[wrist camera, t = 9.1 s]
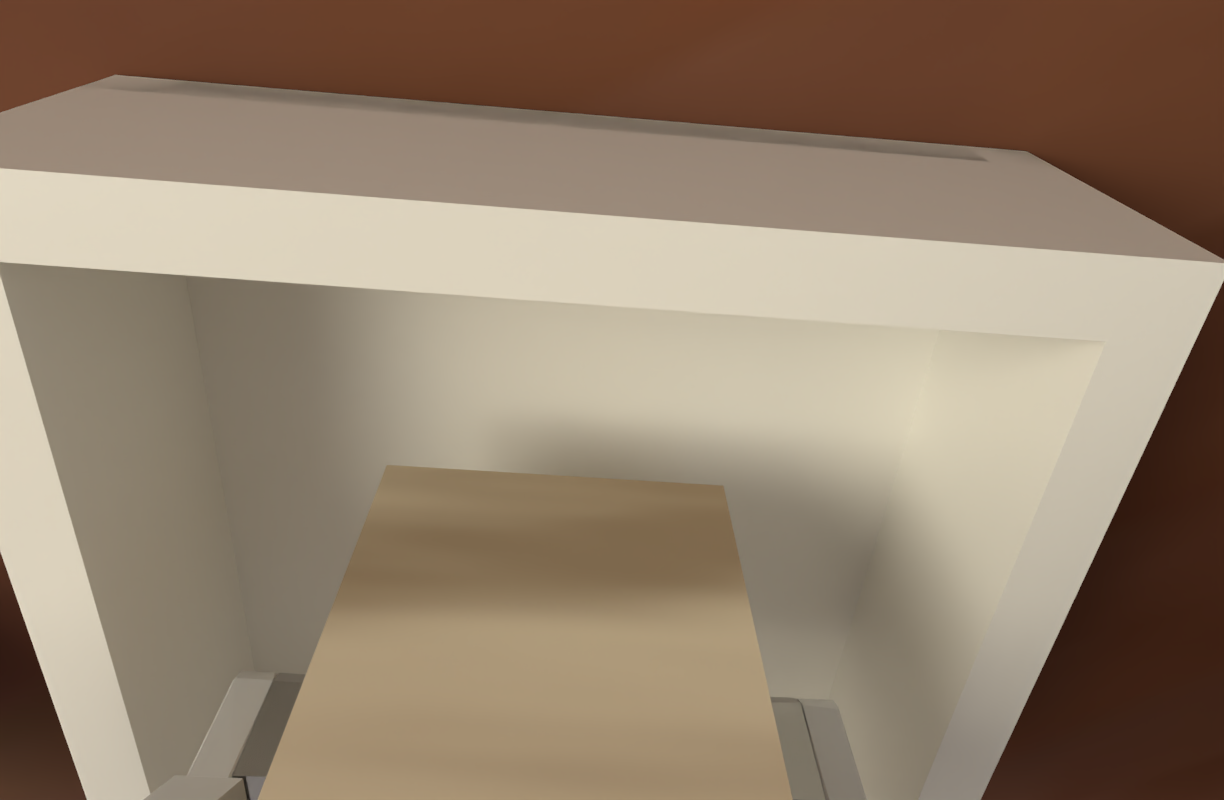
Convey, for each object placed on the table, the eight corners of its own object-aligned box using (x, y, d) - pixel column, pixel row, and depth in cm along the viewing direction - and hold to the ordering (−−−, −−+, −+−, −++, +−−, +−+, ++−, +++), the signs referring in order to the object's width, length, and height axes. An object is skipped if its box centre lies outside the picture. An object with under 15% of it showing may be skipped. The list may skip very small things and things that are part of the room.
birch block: (386, 464, 12) (235, 858, 7) (723, 485, 13) (809, 878, 8) (400, 700, 15) (293, 1120, 10) (681, 713, 15) (725, 1129, 10)
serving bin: (116, 75, 13) (-137, 157, 8) (1026, 150, 13) (1230, 264, 9) (240, 715, 20) (137, 944, 15) (837, 743, 20) (901, 968, 16)
